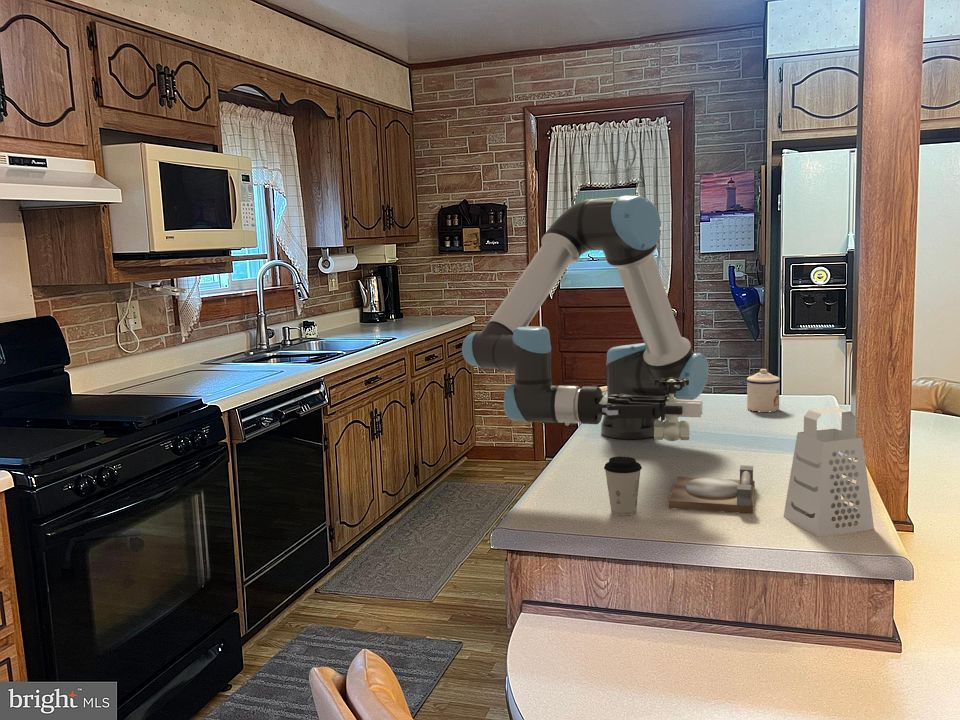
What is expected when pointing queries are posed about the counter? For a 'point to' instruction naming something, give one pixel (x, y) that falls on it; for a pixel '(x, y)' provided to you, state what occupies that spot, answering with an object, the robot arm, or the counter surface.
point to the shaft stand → (715, 493)
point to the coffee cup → (623, 484)
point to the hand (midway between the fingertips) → (701, 408)
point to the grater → (828, 477)
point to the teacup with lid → (763, 392)
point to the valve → (671, 425)
